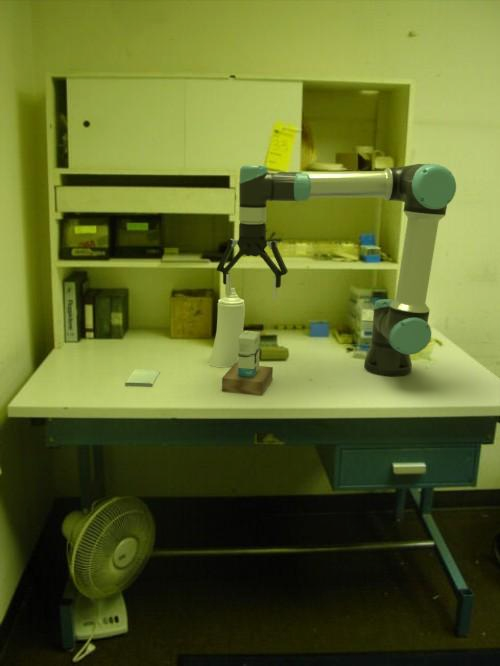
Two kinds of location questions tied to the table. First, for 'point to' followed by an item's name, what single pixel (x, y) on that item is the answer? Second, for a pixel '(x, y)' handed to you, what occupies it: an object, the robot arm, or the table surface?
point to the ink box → (248, 353)
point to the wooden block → (247, 381)
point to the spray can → (228, 330)
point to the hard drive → (143, 378)
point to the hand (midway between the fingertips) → (251, 297)
